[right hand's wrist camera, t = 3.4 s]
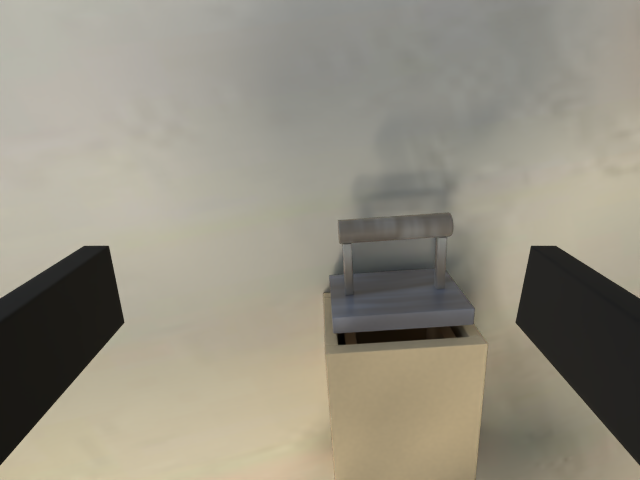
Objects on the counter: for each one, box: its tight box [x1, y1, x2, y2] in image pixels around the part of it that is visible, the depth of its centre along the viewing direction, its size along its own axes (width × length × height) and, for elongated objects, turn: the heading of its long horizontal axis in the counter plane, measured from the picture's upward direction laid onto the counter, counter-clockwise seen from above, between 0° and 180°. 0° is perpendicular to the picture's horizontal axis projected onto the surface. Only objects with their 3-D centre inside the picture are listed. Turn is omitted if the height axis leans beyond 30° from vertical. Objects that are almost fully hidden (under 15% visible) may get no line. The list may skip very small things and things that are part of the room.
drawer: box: [329, 213, 475, 345], centre depth 30 cm, size 25×9×6 cm, turn 4°
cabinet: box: [323, 293, 488, 480], centre depth 31 cm, size 21×10×8 cm, turn 4°
